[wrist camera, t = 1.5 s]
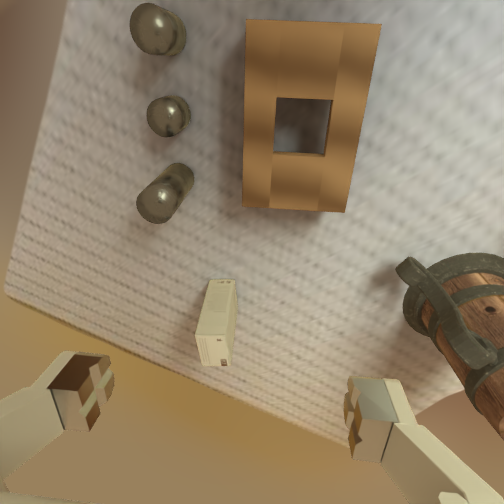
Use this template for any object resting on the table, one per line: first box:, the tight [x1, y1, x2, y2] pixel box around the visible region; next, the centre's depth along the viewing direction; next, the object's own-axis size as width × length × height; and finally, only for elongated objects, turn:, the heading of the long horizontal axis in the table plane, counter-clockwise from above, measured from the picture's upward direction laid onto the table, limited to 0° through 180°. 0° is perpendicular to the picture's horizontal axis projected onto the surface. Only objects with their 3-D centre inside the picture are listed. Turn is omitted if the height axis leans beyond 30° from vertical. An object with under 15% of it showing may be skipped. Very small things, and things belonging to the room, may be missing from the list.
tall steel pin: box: [136, 163, 194, 224], centre depth 39 cm, size 4×4×10 cm
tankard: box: [396, 253, 504, 440], centre depth 40 cm, size 24×17×20 cm
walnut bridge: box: [242, 19, 382, 213], centre depth 36 cm, size 18×12×6 cm, turn 178°
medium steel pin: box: [130, 3, 186, 56], centre depth 33 cm, size 4×4×6 cm
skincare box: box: [195, 279, 238, 366], centre depth 47 cm, size 6×4×12 cm
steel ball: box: [147, 95, 191, 137], centre depth 37 cm, size 4×4×4 cm
